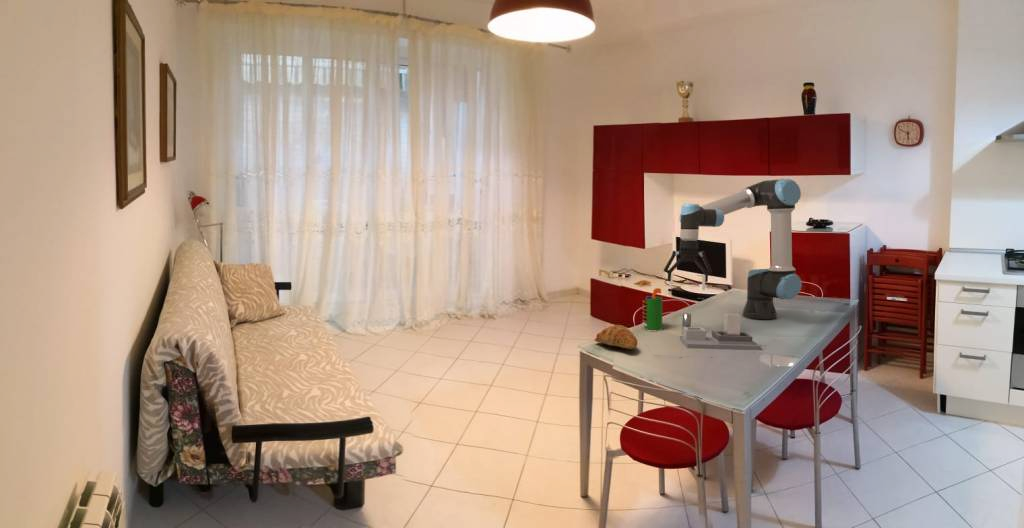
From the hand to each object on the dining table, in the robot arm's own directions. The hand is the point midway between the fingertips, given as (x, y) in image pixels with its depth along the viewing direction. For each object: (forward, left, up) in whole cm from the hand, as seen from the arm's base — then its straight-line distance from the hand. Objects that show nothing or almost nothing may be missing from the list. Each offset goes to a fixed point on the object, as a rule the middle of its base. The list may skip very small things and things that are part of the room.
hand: (687, 289), depth 269 cm
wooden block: (-15, +16, -18) cm, 29 cm away
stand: (-10, +16, -21) cm, 28 cm away
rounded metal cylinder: (0, 0, -21) cm, 21 cm away
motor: (+13, -9, -21) cm, 26 cm away
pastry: (+30, +22, -21) cm, 43 cm away
